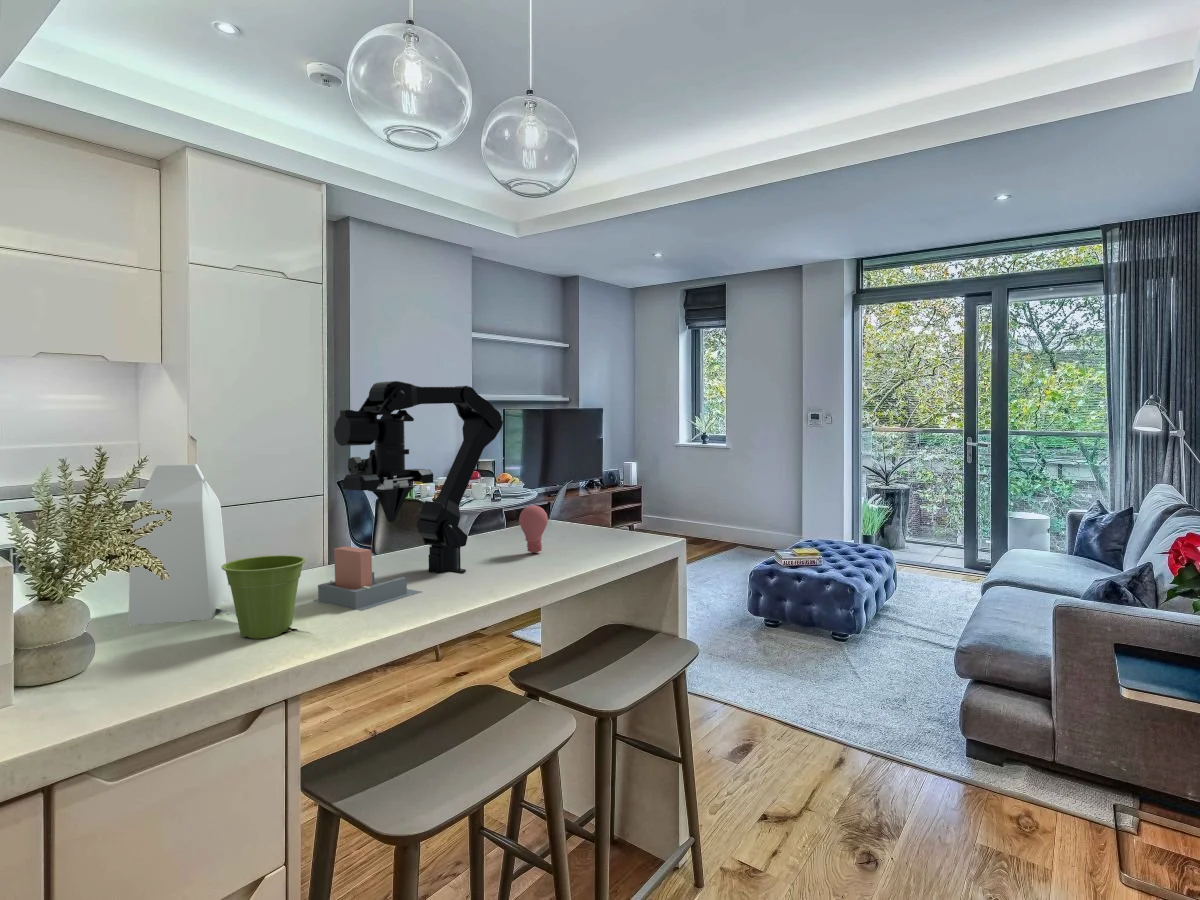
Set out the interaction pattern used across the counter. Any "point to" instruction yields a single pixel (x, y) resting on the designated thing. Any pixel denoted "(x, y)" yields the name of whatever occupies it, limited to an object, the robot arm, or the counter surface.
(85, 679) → the counter surface
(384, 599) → the dock
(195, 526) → the milk
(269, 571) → the plant pot
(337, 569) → the upright terracotta block
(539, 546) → the light bulb
